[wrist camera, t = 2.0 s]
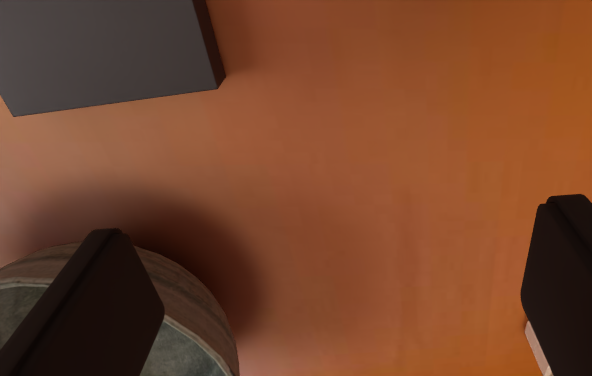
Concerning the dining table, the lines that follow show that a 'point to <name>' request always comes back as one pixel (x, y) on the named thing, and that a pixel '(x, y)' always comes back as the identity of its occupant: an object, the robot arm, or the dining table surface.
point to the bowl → (173, 293)
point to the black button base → (103, 52)
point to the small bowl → (537, 351)
